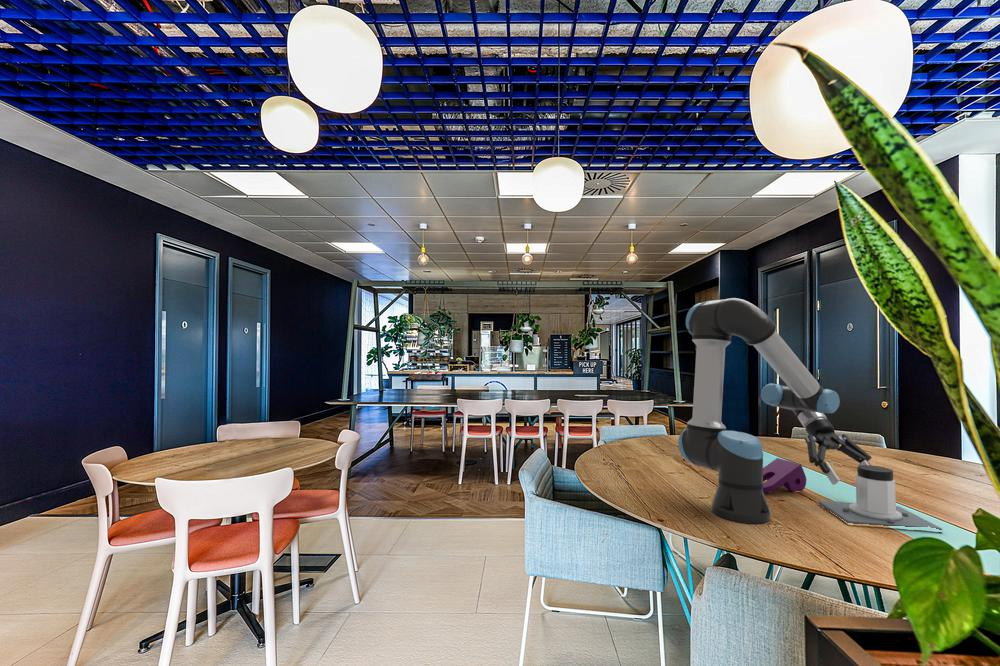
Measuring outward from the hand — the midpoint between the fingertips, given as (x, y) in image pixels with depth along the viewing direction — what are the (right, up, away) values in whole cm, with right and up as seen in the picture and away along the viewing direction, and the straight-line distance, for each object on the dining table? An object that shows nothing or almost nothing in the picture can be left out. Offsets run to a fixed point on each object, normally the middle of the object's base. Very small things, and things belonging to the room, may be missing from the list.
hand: (856, 482), depth 140 cm
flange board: (0, -8, -7) cm, 11 cm away
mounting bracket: (-13, -10, +20) cm, 26 cm away
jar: (+1, -6, -6) cm, 9 cm away
